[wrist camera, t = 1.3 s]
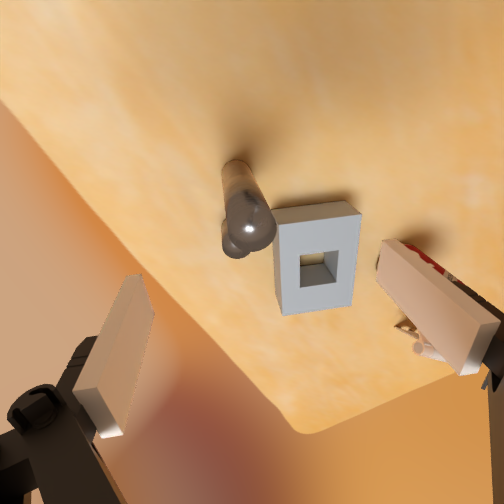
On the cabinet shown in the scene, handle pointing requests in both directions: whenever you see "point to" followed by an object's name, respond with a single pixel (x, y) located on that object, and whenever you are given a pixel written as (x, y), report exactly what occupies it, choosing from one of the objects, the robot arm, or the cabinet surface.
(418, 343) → the portable electronic device stand
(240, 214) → the long pin
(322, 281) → the block
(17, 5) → the cabinet surface
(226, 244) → the short pin
